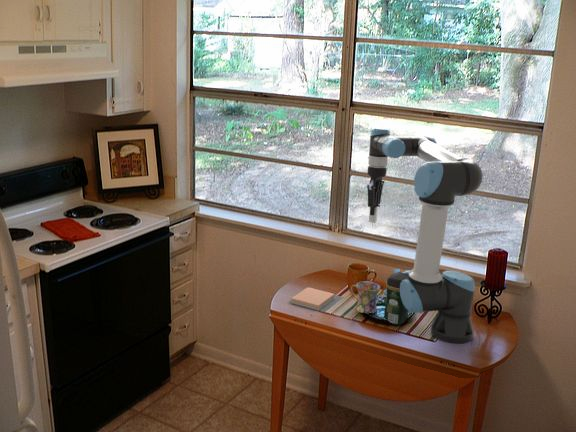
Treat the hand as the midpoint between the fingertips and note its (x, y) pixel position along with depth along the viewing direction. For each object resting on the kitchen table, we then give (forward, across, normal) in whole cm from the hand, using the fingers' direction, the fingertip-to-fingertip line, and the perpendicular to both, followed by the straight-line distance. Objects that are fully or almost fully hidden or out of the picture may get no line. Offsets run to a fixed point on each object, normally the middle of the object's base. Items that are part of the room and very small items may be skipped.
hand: (372, 222), depth 269 cm
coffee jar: (+30, +23, +21) cm, 43 cm away
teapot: (+30, 0, +17) cm, 34 cm away
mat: (+29, +25, -11) cm, 40 cm away
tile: (+28, +20, -12) cm, 36 cm away
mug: (+30, +22, +8) cm, 38 cm away
